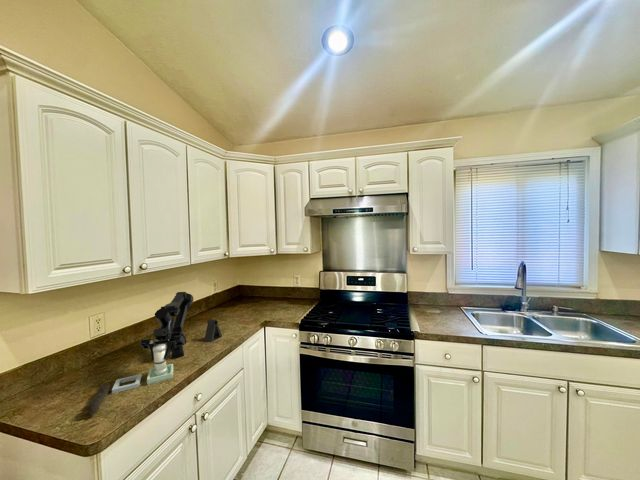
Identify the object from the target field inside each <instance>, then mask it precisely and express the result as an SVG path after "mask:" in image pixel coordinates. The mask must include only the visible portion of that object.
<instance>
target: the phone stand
mask: <svg viewBox="0 0 640 480" xmlns="http://www.w3.org/2000/svg"><path fill="white" fill-rule="evenodd" d="M220 338H223V333H222V332H221V330H220V326H219V323H218V320H217V319H211V318H209V319H208V320H207V326H206V330H205V336H204V341H206V342H214V341H216V340H218V339H220Z"/></svg>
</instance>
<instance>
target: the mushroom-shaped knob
mask: <svg viewBox="0 0 640 480" xmlns="http://www.w3.org/2000/svg"><path fill="white" fill-rule="evenodd" d="M166 349H167V344H157V345H156V346H154V347H153V352H154V361H153V366H154V367H153V368H155V370H154V374H155V375H162V374H164V373H166V372H167V366H166V365H167V359H166V360H164V356H165V352H166Z"/></svg>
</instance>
